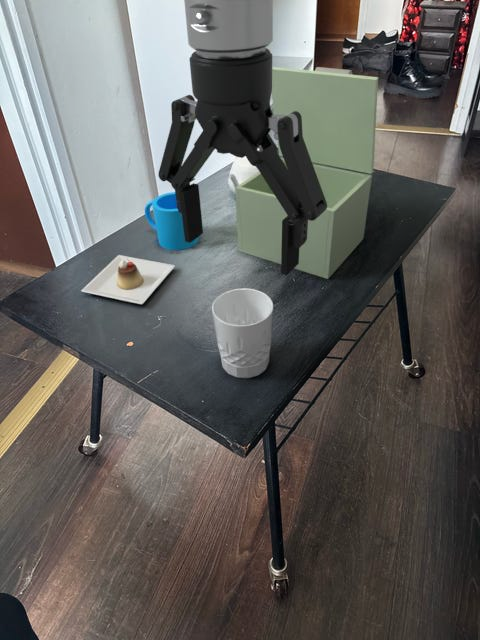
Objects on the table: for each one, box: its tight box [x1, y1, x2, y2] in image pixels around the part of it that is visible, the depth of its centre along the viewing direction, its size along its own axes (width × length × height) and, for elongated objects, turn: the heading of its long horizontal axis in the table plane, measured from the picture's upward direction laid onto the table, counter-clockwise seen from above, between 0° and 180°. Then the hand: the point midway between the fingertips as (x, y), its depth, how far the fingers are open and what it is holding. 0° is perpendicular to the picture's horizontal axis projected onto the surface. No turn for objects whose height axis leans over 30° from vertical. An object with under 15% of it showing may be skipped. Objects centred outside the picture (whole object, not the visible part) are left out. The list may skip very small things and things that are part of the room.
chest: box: [235, 156, 373, 280], centre depth 87 cm, size 16×19×13 cm
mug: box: [144, 191, 200, 251], centre depth 93 cm, size 12×8×8 cm
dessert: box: [80, 254, 176, 305], centre depth 82 cm, size 12×12×5 cm
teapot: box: [227, 147, 261, 195], centre depth 106 cm, size 20×12×10 cm, turn 148°
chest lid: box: [271, 66, 379, 175], centre depth 82 cm, size 16×19×6 cm
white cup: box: [211, 287, 274, 379], centre depth 64 cm, size 8×8×10 cm
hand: (239, 252), depth 56 cm, fingers open, 13 cm apart
